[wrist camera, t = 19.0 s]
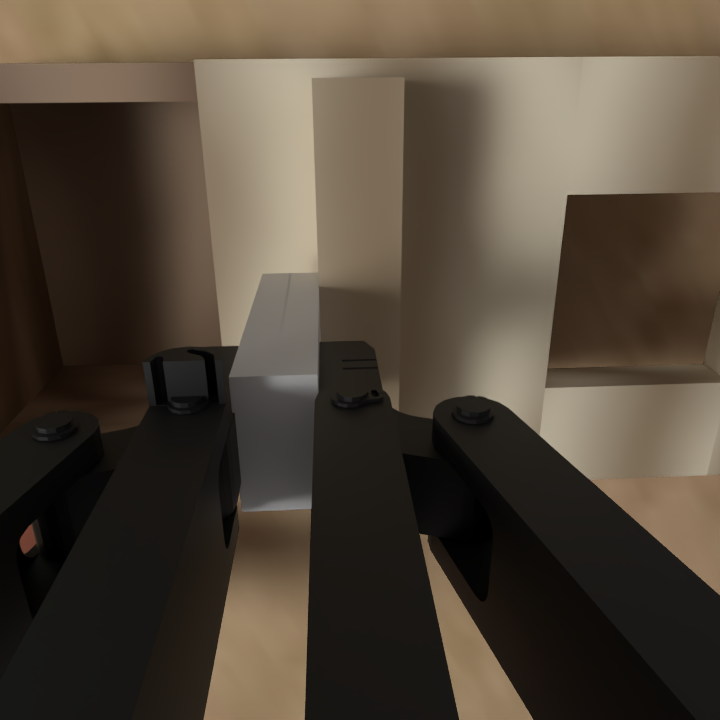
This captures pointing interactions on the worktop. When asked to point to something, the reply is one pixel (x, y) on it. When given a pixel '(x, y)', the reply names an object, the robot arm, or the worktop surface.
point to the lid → (464, 225)
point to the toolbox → (99, 235)
